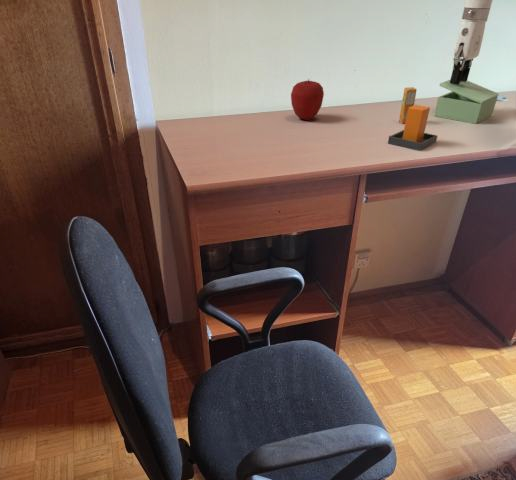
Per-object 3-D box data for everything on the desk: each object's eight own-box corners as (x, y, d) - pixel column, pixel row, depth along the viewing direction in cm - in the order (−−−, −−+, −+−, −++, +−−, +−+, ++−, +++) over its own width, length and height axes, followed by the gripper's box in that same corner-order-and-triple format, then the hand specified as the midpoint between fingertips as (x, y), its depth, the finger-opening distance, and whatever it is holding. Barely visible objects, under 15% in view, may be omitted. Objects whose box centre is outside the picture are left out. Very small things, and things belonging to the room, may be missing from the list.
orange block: (422, 141, 131) (430, 107, 125) (415, 144, 129) (422, 110, 123) (408, 138, 134) (415, 104, 128) (401, 141, 131) (408, 107, 125)
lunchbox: (433, 115, 154) (438, 97, 150) (451, 108, 162) (455, 90, 158) (475, 123, 146) (481, 104, 142) (491, 115, 154) (497, 96, 150)
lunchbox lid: (439, 85, 148) (447, 66, 144) (457, 79, 156) (465, 61, 152) (481, 104, 142) (491, 85, 138) (497, 96, 150) (507, 78, 146)
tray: (436, 142, 132) (437, 135, 130) (420, 150, 126) (421, 143, 125) (404, 135, 137) (405, 128, 136) (387, 143, 131) (388, 136, 130)
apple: (291, 113, 156) (293, 75, 148) (322, 115, 155) (325, 76, 147) (288, 122, 148) (289, 82, 140) (320, 123, 146) (324, 83, 139)
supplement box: (397, 121, 149) (404, 86, 142) (407, 120, 149) (414, 86, 142) (400, 123, 146) (407, 89, 140) (411, 123, 146) (418, 89, 140)
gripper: (476, 18, 131) (458, 88, 143) (497, 14, 141) (479, 80, 153) (451, 16, 135) (436, 85, 147) (474, 12, 145) (457, 77, 157)
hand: (458, 81), depth 150 cm, fingers closed on lunchbox lid, 5 cm apart
